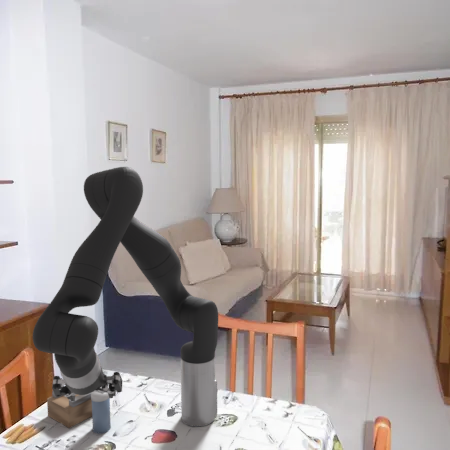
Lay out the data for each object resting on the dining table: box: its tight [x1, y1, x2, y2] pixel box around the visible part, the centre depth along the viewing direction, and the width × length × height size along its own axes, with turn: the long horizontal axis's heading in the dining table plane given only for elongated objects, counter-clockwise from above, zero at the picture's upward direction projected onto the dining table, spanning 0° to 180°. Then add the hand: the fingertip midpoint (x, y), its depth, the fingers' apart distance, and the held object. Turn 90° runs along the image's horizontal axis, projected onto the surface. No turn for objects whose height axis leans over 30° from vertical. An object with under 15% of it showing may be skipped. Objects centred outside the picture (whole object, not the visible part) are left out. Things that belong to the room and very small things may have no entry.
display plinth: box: [46, 390, 92, 429], centre depth 119 cm, size 10×10×6 cm
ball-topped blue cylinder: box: [91, 392, 112, 435], centre depth 112 cm, size 5×5×10 cm
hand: (92, 395), depth 100 cm, fingers open, 8 cm apart
